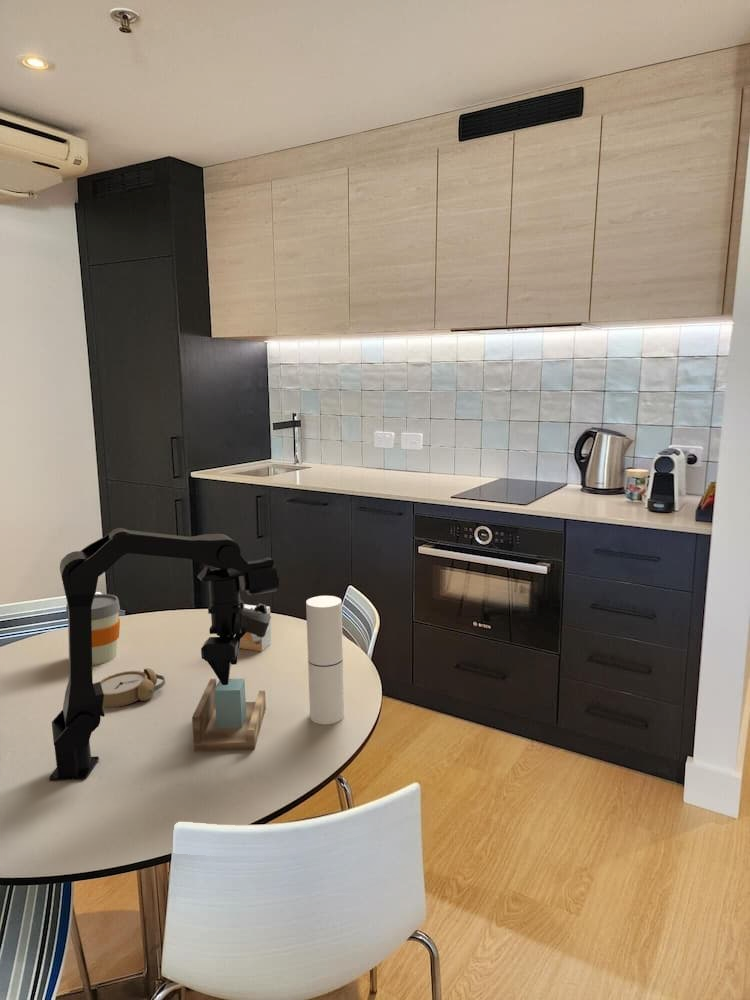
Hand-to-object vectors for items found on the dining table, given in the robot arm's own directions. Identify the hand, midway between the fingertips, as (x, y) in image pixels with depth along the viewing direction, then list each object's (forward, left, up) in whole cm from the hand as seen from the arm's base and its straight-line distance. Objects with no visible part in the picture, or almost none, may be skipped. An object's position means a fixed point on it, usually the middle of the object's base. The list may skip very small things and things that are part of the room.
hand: (229, 674), depth 129 cm
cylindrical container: (+4, -19, -12) cm, 23 cm away
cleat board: (0, 0, -12) cm, 12 cm away
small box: (+42, +2, -12) cm, 44 cm away
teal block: (0, 0, -10) cm, 10 cm away
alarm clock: (+16, +26, -12) cm, 33 cm away
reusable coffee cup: (+37, +41, -12) cm, 57 cm away
